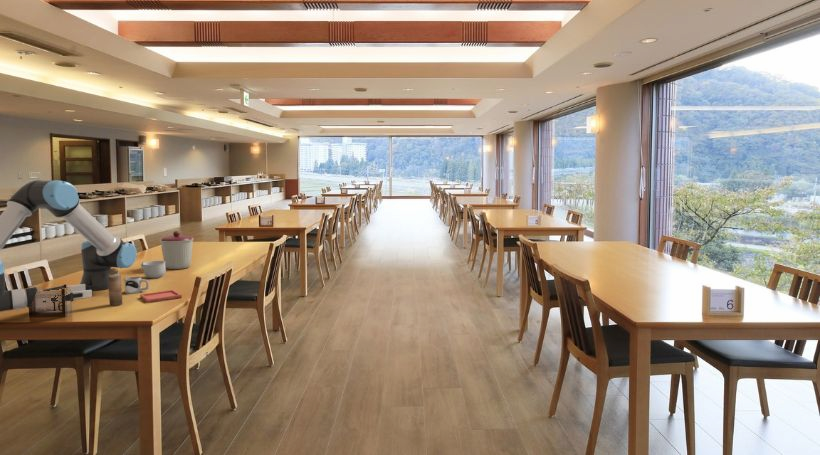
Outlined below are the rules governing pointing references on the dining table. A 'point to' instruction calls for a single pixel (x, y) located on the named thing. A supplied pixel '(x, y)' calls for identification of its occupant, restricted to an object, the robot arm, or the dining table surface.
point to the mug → (135, 285)
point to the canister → (177, 250)
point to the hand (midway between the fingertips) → (88, 290)
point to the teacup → (154, 269)
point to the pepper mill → (114, 288)
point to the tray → (160, 296)
